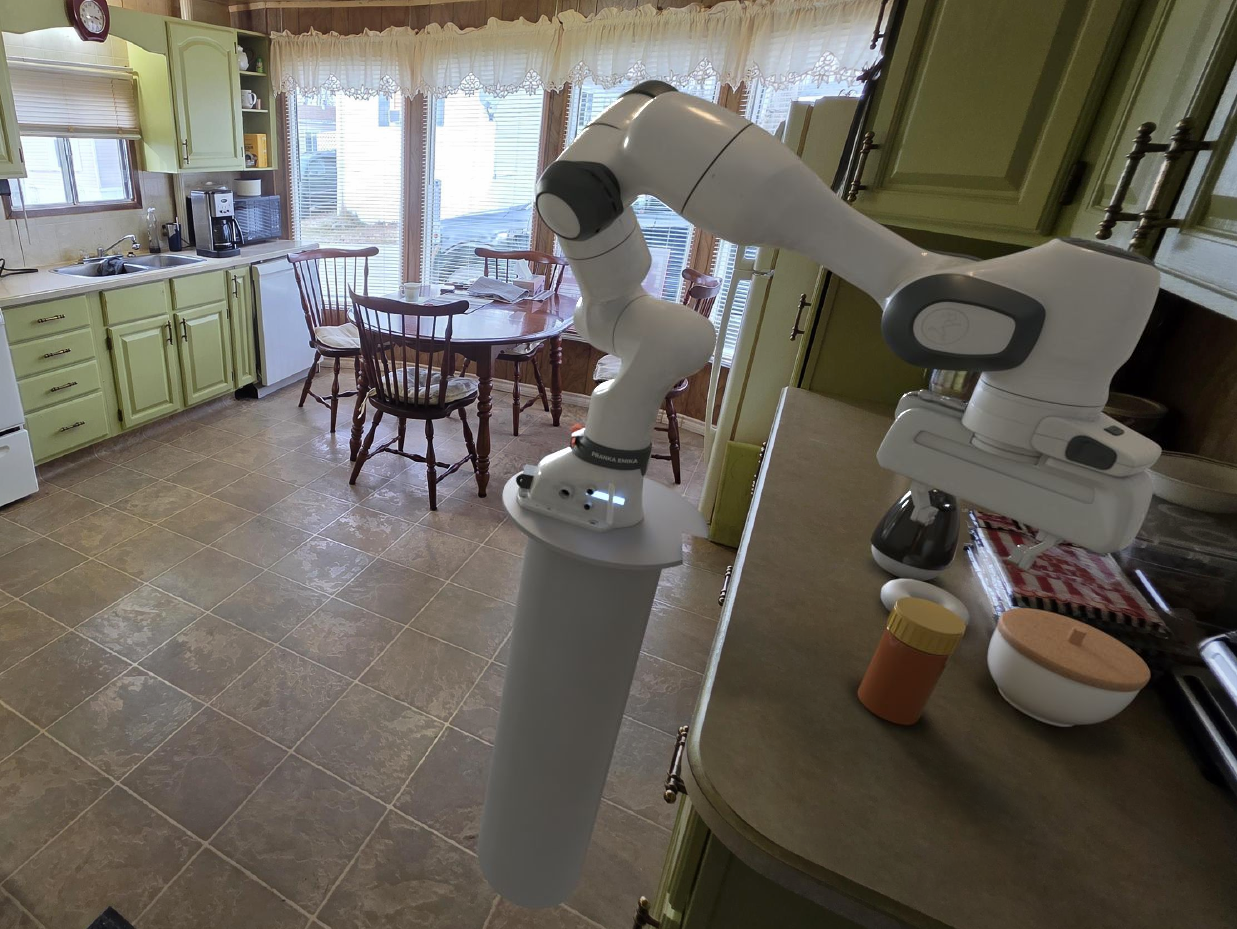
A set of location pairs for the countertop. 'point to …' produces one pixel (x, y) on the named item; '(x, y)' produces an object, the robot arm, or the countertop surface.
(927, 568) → the glossy black oval piece
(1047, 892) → the countertop surface
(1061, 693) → the lidded bowl
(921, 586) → the donut
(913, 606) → the lid
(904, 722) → the jar
